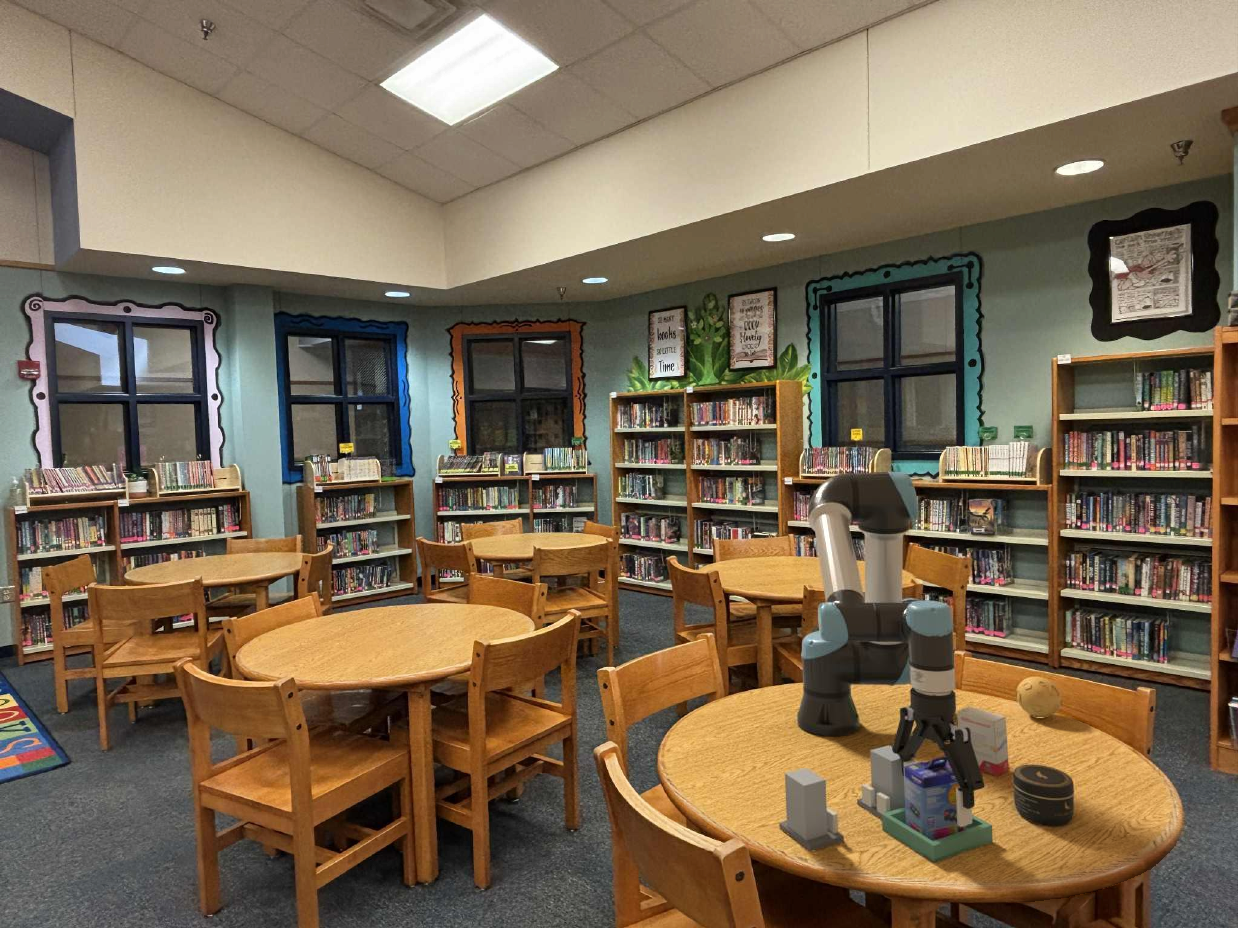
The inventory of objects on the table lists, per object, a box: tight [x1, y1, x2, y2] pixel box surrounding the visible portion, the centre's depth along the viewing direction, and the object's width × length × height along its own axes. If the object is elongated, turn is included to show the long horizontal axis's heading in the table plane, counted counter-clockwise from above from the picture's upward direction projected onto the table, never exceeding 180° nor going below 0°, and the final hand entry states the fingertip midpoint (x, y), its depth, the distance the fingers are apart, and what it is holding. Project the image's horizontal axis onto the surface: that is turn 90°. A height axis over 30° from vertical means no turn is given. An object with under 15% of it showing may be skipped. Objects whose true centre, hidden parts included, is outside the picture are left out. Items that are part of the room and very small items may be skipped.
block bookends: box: [778, 745, 905, 852], centre depth 138 cm, size 9×26×11 cm, turn 114°
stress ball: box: [1015, 676, 1063, 718], centre depth 184 cm, size 10×10×10 cm
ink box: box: [956, 706, 1010, 777], centre depth 158 cm, size 9×5×12 cm, turn 33°
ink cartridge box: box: [904, 755, 967, 841], centre depth 132 cm, size 10×6×14 cm, turn 108°
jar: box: [1012, 764, 1075, 828], centre depth 138 cm, size 10×10×8 cm
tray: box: [881, 807, 994, 864], centre depth 132 cm, size 12×14×3 cm
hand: (937, 809), depth 132 cm, fingers open, 11 cm apart
